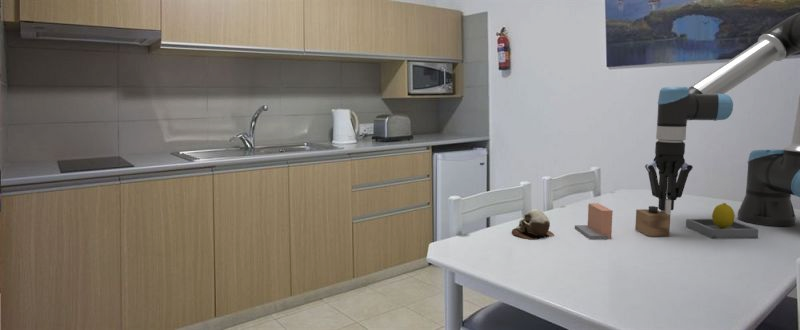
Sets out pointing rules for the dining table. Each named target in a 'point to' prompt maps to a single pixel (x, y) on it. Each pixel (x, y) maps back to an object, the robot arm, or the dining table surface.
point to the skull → (533, 226)
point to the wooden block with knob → (652, 222)
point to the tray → (715, 232)
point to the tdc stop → (597, 222)
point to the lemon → (723, 216)
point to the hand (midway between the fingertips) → (665, 220)
